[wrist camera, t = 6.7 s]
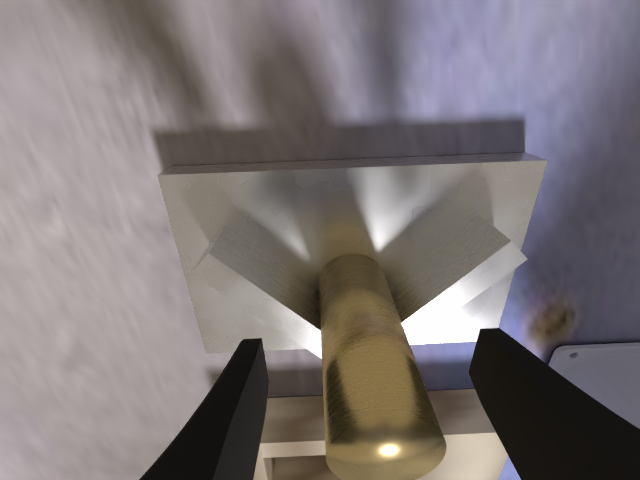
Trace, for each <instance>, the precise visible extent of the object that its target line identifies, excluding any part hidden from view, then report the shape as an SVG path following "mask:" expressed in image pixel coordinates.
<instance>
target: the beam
mask: <svg viewBox="0 0 640 480" xmlns="http://www.w3.org/2000/svg"><path fill="white" fill-rule="evenodd" d="M427 392H428V395H429V397H430V400H431V403H432V406H433V408H434V411H435V414H436V416H437V419H438V422H439V424H440V427H441V430H442V433H443V435H444V438H445V441H446V445H447V447H446V453H445V456H444V458H443V460H442V461H441V463H440V464H439V465H438V466H437V467H436V468H435V469H434V470H432V471H431V472H430V473H428V474H426V475H425V476H423V477H421V478H419V479H416V480H498V478H499V476H500V473H501V471H502V469H503V466H504V464H505V461H506V459H507V457H508V454H507V452H506V450H505V448H504V446H503V444H502V443H501V441H500V439H499V437H498V435H497V433H496V431H495V430H494V428H493V426H492V424H491V422H490V420H489V418H488V416H487V414H486V412H485V410H484V409H483V407H482V405H481V402H480V400H479V398H478V395H477V393H476V390H475V389H460V390H438V391H427ZM253 480H342V479H340V478H339V477H337V476H336V475H335V474H334V473H333V472H332V471H331V470H330V469H329V467H328V465H327V462H326V449H325V423H324V398H323V396H304V397H282V398H267V406H266V415H265V420H264V426H263V431H262V436H261V442H260V447H259V452H258V457H257V463H256V468H255V473H254V478H253Z"/></svg>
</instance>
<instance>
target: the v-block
mask: <svg viewBox="0 0 640 480" xmlns="http://www.w3.org/2000/svg"><path fill="white" fill-rule="evenodd" d="M547 161H548V160H546V159H543V158H540V157H537V156H534V155H531V154H529V153H500V154H474V155H448V156H422V157H395V158H369V159H343V160H317V161H291V162H265V163H239V164H213V165H187V166H171V167H170V168H168V169H166V170H165V171H163V172H162V173H160V174H159V175H157V176H158V179H159V183H160V187H161V190H162V194H163V198H164V201H165V205H166V209H167V212H168V216H169V220H170V223H171V227H172V231H173V234H174V238H175V242H176V245H177V249H178V253H179V256H180V260H181V264H182V267H183V271H184V275H185V278H186V282H187V286H188V289H189V293H190V297H191V300H192V304H193V307H194V311H195V315H196V318H197V322H198V326H199V329H200V333H201V337H202V340H203V344H204V348H205V351H206V353H221V352H235V350H236V349H237V347H238V345H239V343H240V342H241V341H242V340H243V339H253V338H262V342H263V349H264V351H267V350H290V349H307V350H309V351H310V352H312V353H313V354H315V355H317V356H318V357H320V358H321V359H322V347H321V322H320V297H319V277H320V274H321V271H322V270H323V268H324V267H325V265H326V264H327V263H328V262H330V261H331V260H332V259H334V258H336V257H338V256H340V255H344V254H349V253H358V254H363V255H366V256H369V257H371V258H372V259H374V260H375V261H376V262H377V263H378V264H379V265H380V267H381V268H382V271H383V273H384V276H385V278H386V281H387V284H388V287H389V289H390V292H391V295H392V297H393V300H394V303H395V306H396V308H397V311H398V314H399V316H400V319H401V322H402V324H403V327H404V330H405V333H406V335H407V338H408V341H409V343H410V344H428V343H451V342H474V341H477V339H478V335H479V331H480V329H485V328H498V326H499V323H500V319H501V316H502V312H503V309H504V306H505V302H506V299H507V296H508V292H509V289H510V286H511V282H512V279H513V275H514V272H515V269H516V268H517V267H518V266H519V265H521V264H522V263H524V262H525V261H526V260H528V259H527V258H526V257H525V256H524V254H523V253H522V252H521V249H522V245H523V242H524V239H525V235H526V232H527V228H528V225H529V222H530V218H531V215H532V212H533V208H534V205H535V202H536V198H537V195H538V191H539V188H540V185H541V181H542V178H543V175H544V171H545V168H546V165H547Z"/></svg>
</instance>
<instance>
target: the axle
mask: <svg viewBox="0 0 640 480" xmlns="http://www.w3.org/2000/svg"><path fill="white" fill-rule="evenodd" d="M319 297H320V322H321V347H322V373H323V398H324V423H325V449H326V462H327V465H328V467H329V469H330V470H331V471H332V472H333V473H334V474H335V475H336V476H337V477H339V478H340V479H342V480H416V479H419V478H421V477H423V476H425V475H426V474H428V473H430V472H431V471H432V470H434V469H435V468H436V467H437V466H438V465H439V464H440V463H441V461H442V460H443V458H444V456H445V453H446V447H447V445H446V441H445V438H444V435H443V433H442V430H441V427H440V424H439V422H438V419H437V416H436V414H435V411H434V408H433V406H432V403H431V400H430V397H429V395H428V392H427V389H426V387H425V384H424V381H423V379H422V376H421V373H420V370H419V368H418V365H417V362H416V360H415V357H414V354H413V351H412V349H411V346H410V343H409V341H408V338H407V335H406V333H405V330H404V327H403V324H402V322H401V319H400V316H399V314H398V311H397V308H396V306H395V303H394V300H393V297H392V295H391V292H390V289H389V287H388V284H387V281H386V278H385V276H384V273H383V271H382V268H381V267H380V265H379V264H378V263H377V262H376V261H375V260H374V259H372V258H371V257H369V256H366V255H363V254H358V253H349V254H344V255H340V256H338V257H336V258H334V259H332V260H331V261H330V262H328V263H327V264H326V265H325V267H324V268H323V270H322V271H321V274H320V277H319Z"/></svg>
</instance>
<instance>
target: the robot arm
mask: <svg viewBox="0 0 640 480" xmlns="http://www.w3.org/2000/svg"><path fill="white" fill-rule="evenodd" d="M469 374H470V377H471V379H472V382H473V385H474V388H475V390H476V393H477V395H478V398H479V400H480V402H481V405H482V407H483V409H484V410H485V412H486V414H487V416H488V418H489V420H490V422H491V424H492V426H493V428H494V430H495V431H496V433H497V435H498V437H499V439H500V441H501V443H502V444H503V446H504V448H505V450H506V452H507V454H508V456H509V458H510V459H511V461H512V463H513V465H514V467H515V469H516V471H517V473H518V474H519V476H520V478H521V480H640V342H638V343H615V344H592V345H569V346H560V347H558V348H557V349H556V350H555V351H554V353H553V356H552V358H551V360H550V363H549V365H547V364H546V363H544V362H543V361H542V360H541V359H539V358H538V357H537V356H535V355H534V354H533V353H531V352H530V351H529V350H527V349H526V348H525V347H524V346H522V345H521V344H520V343H518V342H517V341H516V340H514V339H513V338H512V337H510V336H509V335H508V334H506V333H505V332H504V331H502V330H501V329H499V328H485V329H480V331H479V335H478V339H477V343H476V347H475V350H474V354H473V358H472V362H471V365H470V369H469ZM268 382H269V381H268V374H267V368H266V361H265V355H264V349H263V342H262V338H253V339H243V340H242V341H241V342H240V343H239V345H238V347H237V349H236V350H235V352H234V354H233V356H232V357H231V359H230V361H229V362H228V364H227V365H226V367H225V369H224V370H223V372H222V373H221V375H220V377H219V378H218V380H217V381H216V383H215V384H214V385H213V387H212V388H211V390H210V391H209V393H208V394H207V396H206V397H205V399H204V400H203V402H202V403H201V404H200V406H199V407H198V408H197V410H196V411H195V412H194V414H193V415H192V417H191V418H190V419H189V421H188V422H187V423H186V425H185V426H184V427H183V429H182V430H181V431H180V432H179V434H178V435H177V436H176V437H175V439H174V440H173V441H172V442H171V444H170V445H169V446H168V447H167V449H166V450H165V451H164V452H163V453H162V454H161V456H160V457H159V458H158V459H157V460H156V462H155V463H154V464H153V465H152V466H151V467H150V468H149V469H148V471H147V472H146V473H145V474H144V475H143V476H142V477H141V478H140V479H139V480H253V478H254V473H255V468H256V463H257V457H258V452H259V447H260V442H261V436H262V431H263V426H264V420H265V415H266V406H267V394H268Z"/></svg>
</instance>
